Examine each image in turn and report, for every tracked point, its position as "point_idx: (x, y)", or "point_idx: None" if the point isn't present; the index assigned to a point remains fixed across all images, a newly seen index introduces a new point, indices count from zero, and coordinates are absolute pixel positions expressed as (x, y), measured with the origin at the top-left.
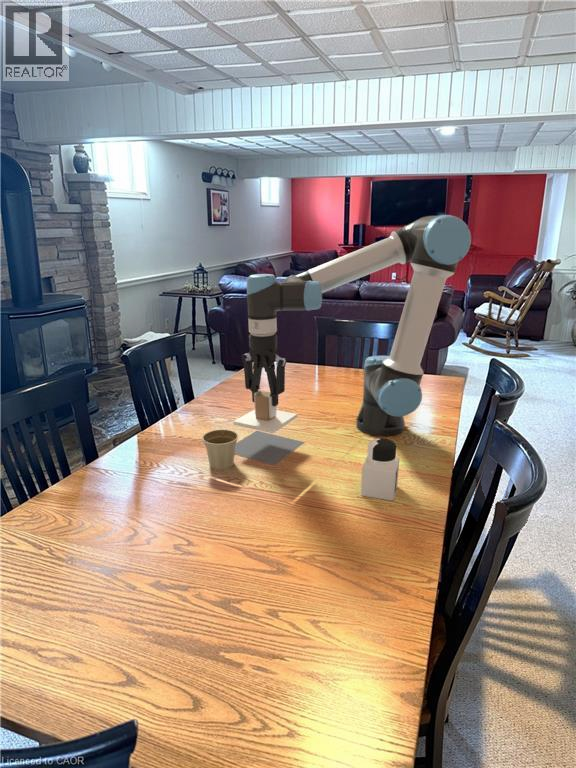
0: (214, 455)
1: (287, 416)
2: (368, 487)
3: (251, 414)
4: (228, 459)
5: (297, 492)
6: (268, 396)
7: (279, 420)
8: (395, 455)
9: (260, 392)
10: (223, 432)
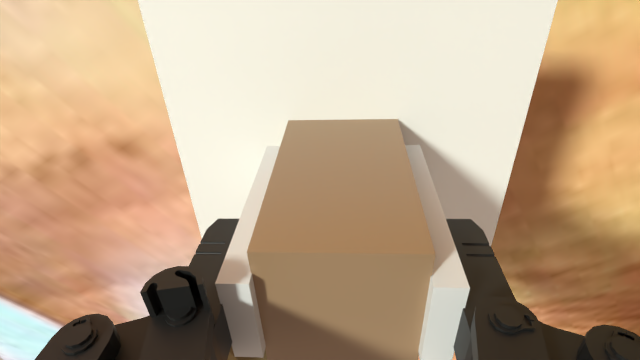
0: None
1: (492, 74)
2: None
3: (219, 165)
4: None
5: (588, 285)
6: (420, 352)
7: (460, 166)
8: None
9: (259, 296)
10: None
